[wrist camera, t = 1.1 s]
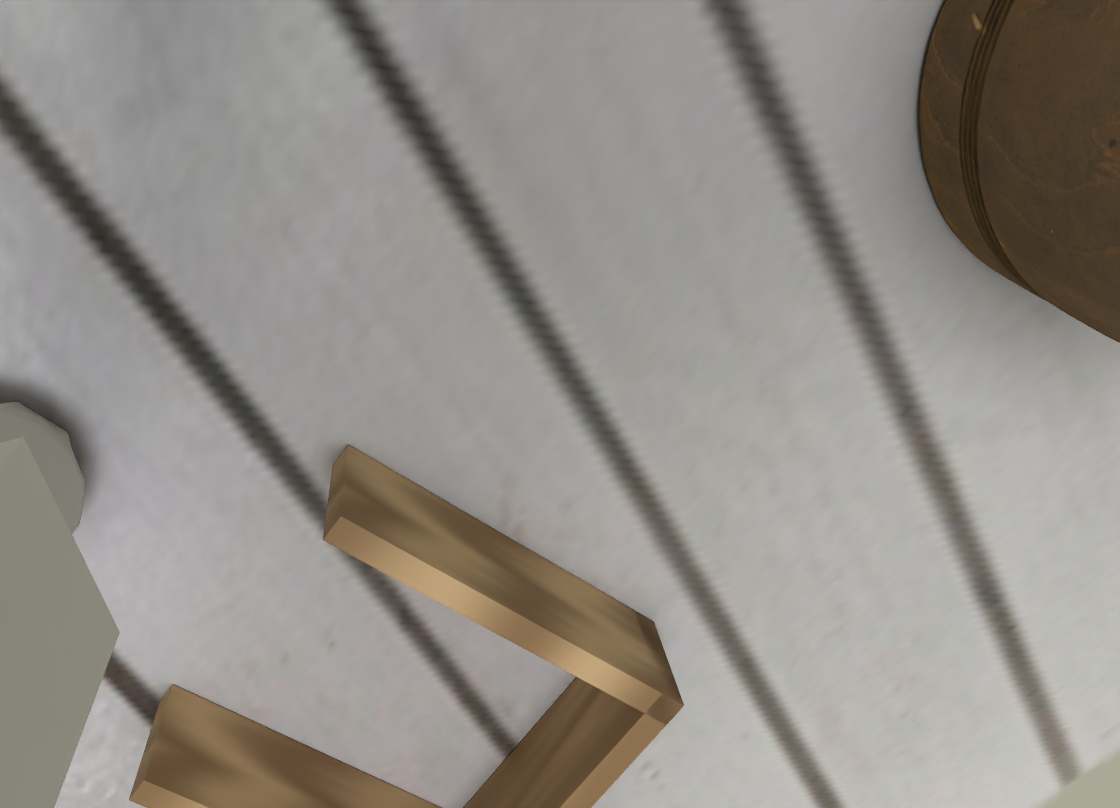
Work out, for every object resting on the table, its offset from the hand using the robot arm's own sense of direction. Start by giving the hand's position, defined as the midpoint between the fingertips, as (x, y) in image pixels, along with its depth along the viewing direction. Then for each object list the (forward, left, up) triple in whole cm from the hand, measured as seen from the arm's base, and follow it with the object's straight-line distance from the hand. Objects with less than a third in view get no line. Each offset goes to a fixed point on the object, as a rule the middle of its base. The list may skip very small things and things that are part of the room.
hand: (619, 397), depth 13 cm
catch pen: (+10, -19, -23) cm, 31 cm away
